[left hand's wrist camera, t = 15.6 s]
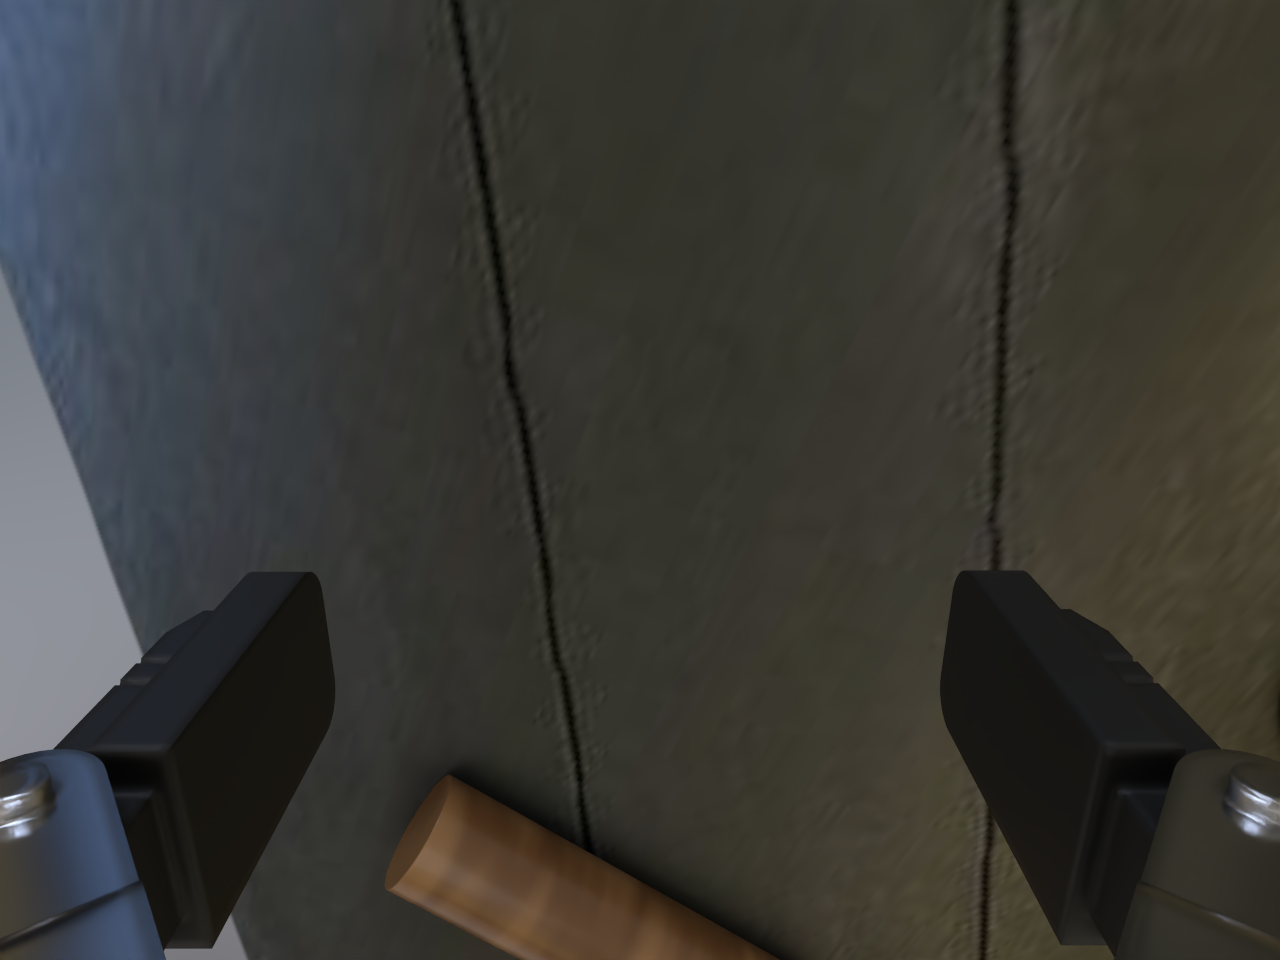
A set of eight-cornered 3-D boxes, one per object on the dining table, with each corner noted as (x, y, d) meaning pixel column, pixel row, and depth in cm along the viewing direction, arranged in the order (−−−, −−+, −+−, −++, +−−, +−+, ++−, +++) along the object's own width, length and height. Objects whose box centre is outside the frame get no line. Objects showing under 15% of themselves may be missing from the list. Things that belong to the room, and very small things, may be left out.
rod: (402, 825, 49) (371, 915, 43) (460, 752, 47) (436, 835, 41) (757, 1016, 54) (770, 1119, 48) (821, 956, 52) (843, 1055, 47)
